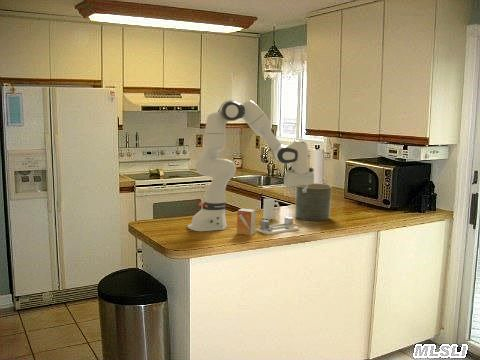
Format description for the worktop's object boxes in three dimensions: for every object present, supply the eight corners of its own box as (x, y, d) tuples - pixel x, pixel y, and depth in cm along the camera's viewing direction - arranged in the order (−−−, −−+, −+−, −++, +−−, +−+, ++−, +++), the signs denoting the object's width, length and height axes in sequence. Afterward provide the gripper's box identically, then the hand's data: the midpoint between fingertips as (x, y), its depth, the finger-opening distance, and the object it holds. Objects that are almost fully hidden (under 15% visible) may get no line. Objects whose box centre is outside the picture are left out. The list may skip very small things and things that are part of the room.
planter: (336, 217, 317) (338, 186, 314) (317, 223, 301) (318, 189, 298) (307, 212, 332) (309, 182, 329) (287, 217, 315) (288, 185, 313)
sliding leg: (294, 228, 280) (294, 220, 279) (284, 224, 287) (284, 217, 286) (298, 227, 282) (298, 219, 281) (288, 224, 288) (288, 216, 288)
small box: (236, 234, 269) (237, 210, 268) (240, 231, 275) (241, 208, 273) (250, 235, 266) (251, 211, 265) (254, 233, 272) (255, 209, 270)
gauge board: (268, 234, 269) (268, 223, 269) (256, 230, 278) (257, 220, 277) (299, 229, 282) (299, 219, 281) (287, 226, 290) (287, 216, 289)
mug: (261, 219, 307) (262, 199, 305) (264, 217, 313) (265, 198, 312) (277, 220, 304) (278, 201, 302) (280, 218, 310) (281, 199, 308)
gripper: (289, 170, 277) (288, 195, 279) (316, 168, 288) (315, 192, 290) (281, 169, 282) (281, 193, 284) (308, 167, 294) (307, 190, 296)
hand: (298, 193), depth 287 cm, fingers open, 7 cm apart
